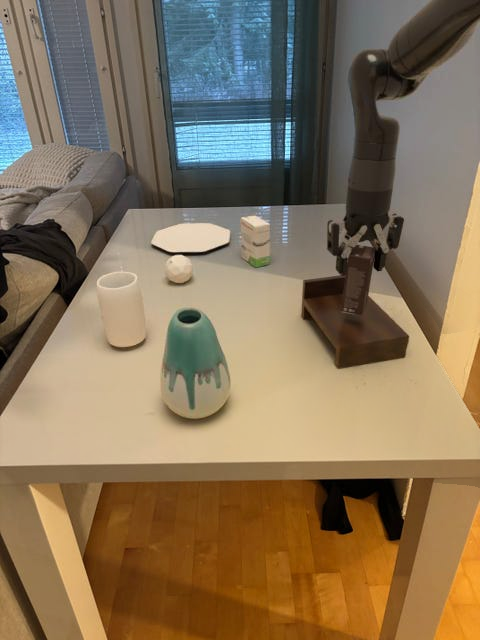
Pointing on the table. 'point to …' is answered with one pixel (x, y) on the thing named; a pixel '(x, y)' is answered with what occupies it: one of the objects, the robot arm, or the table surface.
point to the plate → (191, 238)
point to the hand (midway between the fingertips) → (359, 271)
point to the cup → (121, 308)
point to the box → (357, 279)
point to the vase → (193, 366)
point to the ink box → (255, 241)
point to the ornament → (178, 268)
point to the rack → (352, 325)
